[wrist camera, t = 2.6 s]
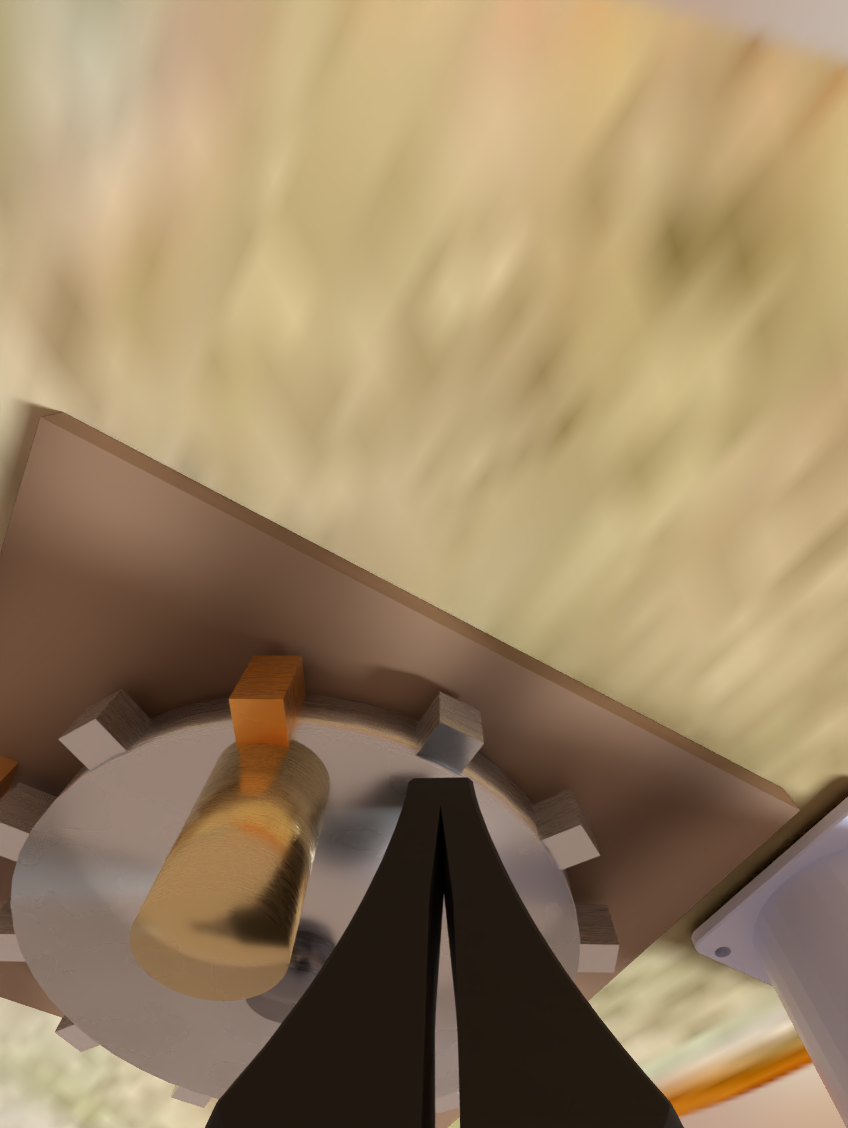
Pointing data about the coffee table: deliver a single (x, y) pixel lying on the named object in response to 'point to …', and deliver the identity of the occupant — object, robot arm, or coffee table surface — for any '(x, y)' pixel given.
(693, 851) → the walnut board
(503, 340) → the coffee table surface
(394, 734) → the sprocket wheel
